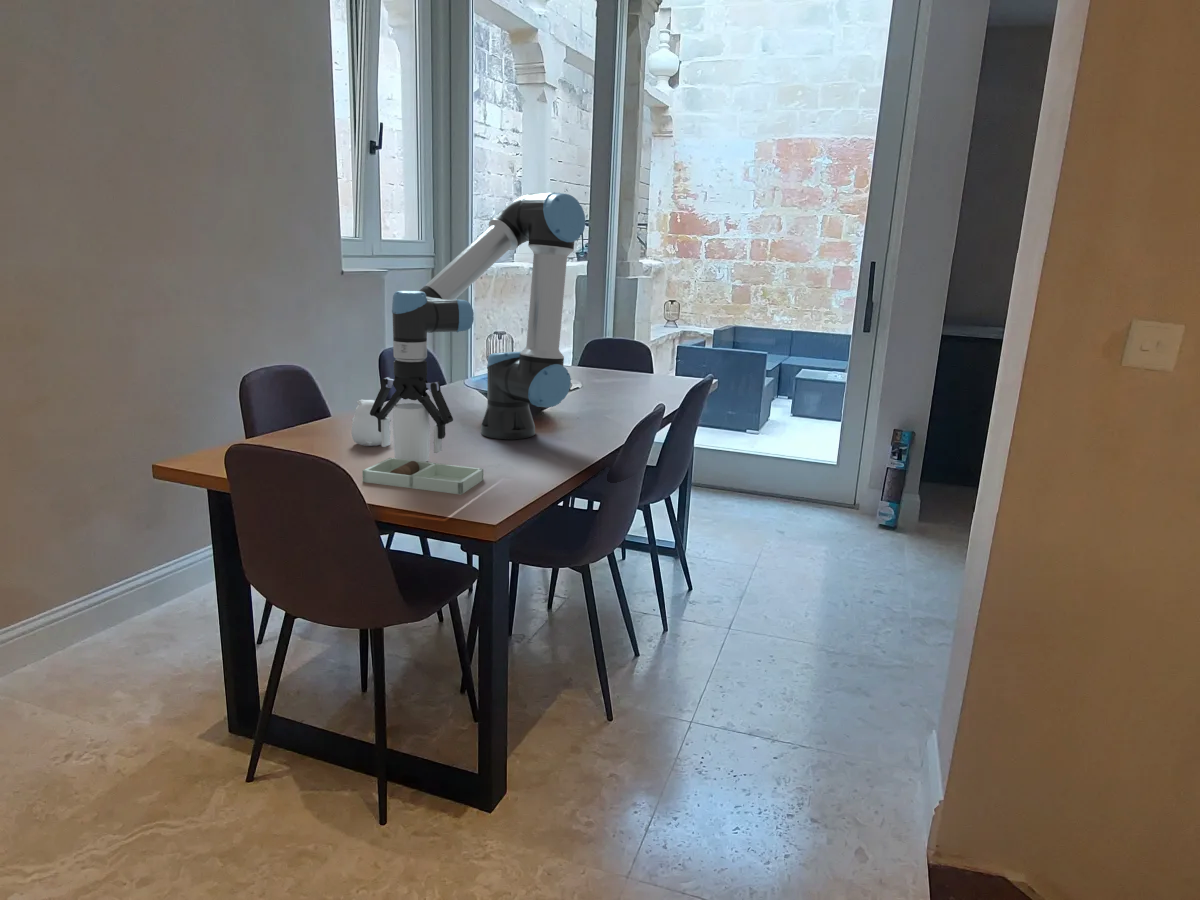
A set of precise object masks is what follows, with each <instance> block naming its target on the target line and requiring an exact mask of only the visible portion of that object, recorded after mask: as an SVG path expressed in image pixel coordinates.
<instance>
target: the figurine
mask: <svg viewBox="0 0 1200 900" xmlns="http://www.w3.org/2000/svg"><path fill="white" fill-rule="evenodd" d="M374 402H375V400H374V399H360V400H357V401H356V403H357V404H358V405H357V406H356V408H355V411H354V416H353V417H352V419H351V421H352V424H351V439H352V441H353V442H354V443H356V444H357V445H361V446H365V447H376V446H378V447H379V446H382V445H381V432H379V431H378V419H377V417H375V416H371V415H370V411H371V409H372V407H373V404H374ZM383 407H384V405H383V406H382V408H381V410H382V409H383ZM385 418H390V417H389V416H388V415H387V417H385ZM391 421H392V419H391V418H390V422H391Z"/></svg>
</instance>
